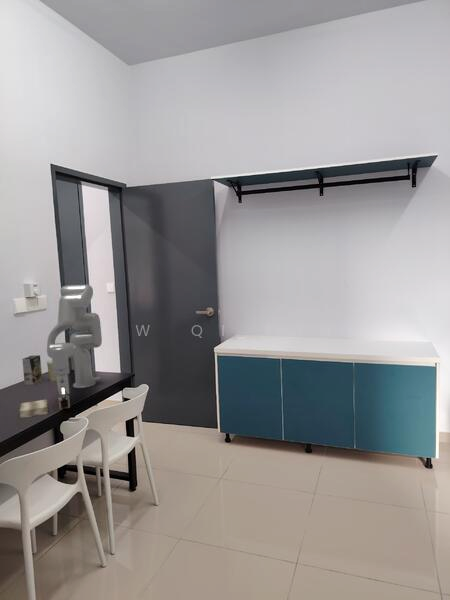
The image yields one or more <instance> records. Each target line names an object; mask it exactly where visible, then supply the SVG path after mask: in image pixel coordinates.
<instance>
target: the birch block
mask: <svg viewBox="0 0 450 600" xmlns="http://www.w3.org/2000/svg"><path fill="white" fill-rule="evenodd" d="M48 405H49V404H48V399H47V398H45V399H40V400H35V401H34V400H33V401H28V402H21V403H20V408H19V416H20V417H19V419H20V418H21V419H25V418H26V417H27V418H33V417H36V416H37V415H38V416H43V414H44V415H48V414H49V413H48V411H49V409H48ZM32 416H33V417H32ZM38 416H37V417H38ZM27 418H26V419H27Z"/></svg>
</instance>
